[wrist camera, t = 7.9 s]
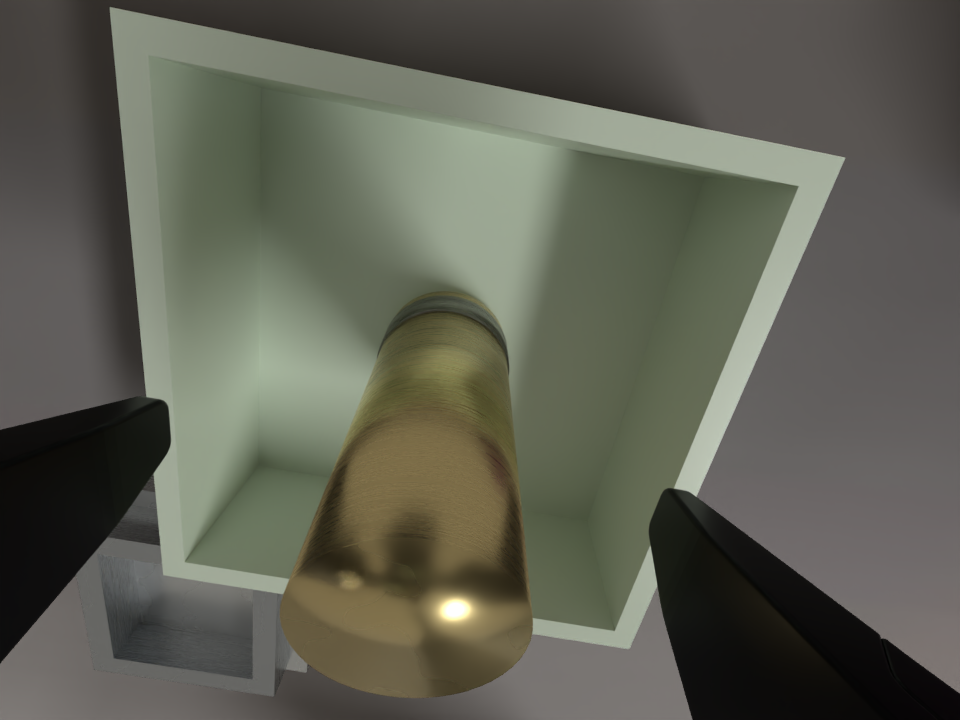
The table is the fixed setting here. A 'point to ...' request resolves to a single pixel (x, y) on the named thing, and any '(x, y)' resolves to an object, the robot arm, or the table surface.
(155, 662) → the socket block
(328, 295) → the bin
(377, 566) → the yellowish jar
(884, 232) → the table surface
